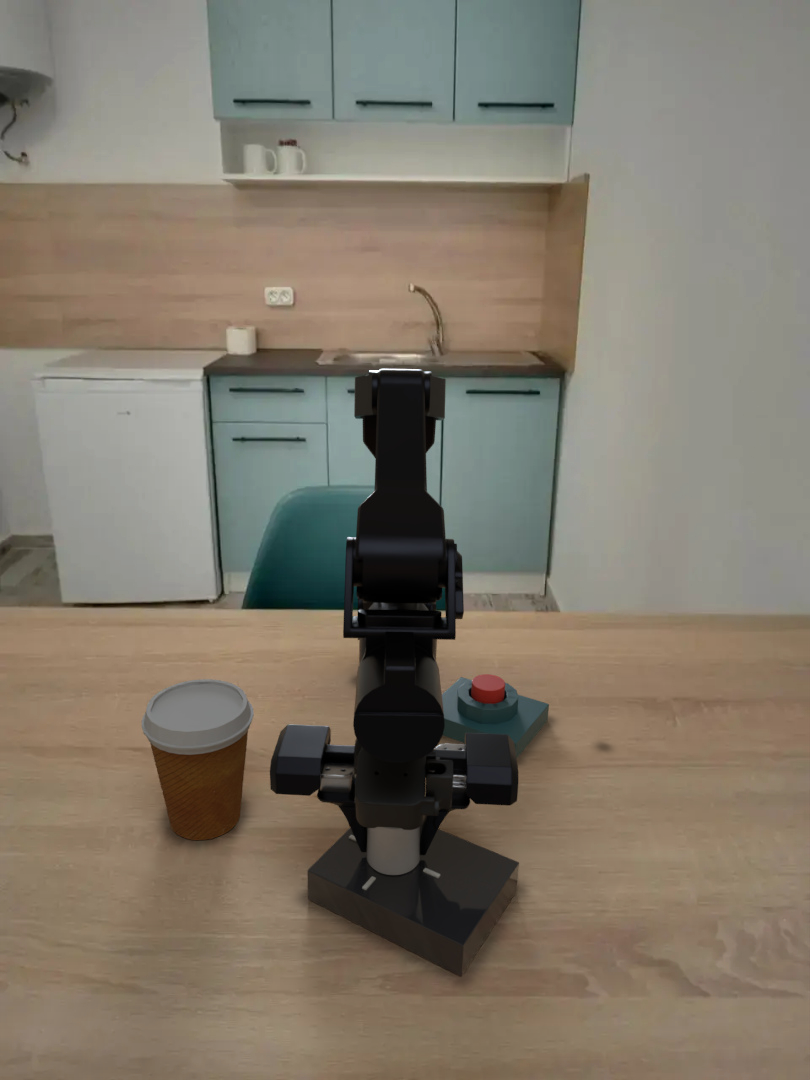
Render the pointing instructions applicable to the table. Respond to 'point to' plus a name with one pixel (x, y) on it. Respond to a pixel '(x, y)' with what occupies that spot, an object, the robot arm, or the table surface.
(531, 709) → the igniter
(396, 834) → the hob knob
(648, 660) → the table surface
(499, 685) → the button
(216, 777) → the disposable coffee cup
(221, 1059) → the table surface
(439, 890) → the hob panel
